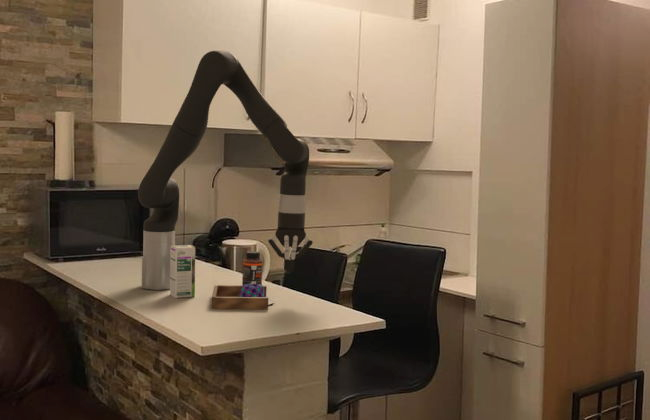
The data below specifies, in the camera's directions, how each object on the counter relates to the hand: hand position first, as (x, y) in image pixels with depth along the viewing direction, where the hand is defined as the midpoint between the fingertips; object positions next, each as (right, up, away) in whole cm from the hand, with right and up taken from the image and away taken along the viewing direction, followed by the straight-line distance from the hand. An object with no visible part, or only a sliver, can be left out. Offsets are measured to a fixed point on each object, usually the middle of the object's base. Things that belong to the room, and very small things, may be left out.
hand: (288, 272), depth 204 cm
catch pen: (-13, -8, -1) cm, 15 cm away
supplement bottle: (-12, -7, +19) cm, 23 cm away
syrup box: (-31, -7, +4) cm, 32 cm away
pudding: (-10, -9, -1) cm, 14 cm away
